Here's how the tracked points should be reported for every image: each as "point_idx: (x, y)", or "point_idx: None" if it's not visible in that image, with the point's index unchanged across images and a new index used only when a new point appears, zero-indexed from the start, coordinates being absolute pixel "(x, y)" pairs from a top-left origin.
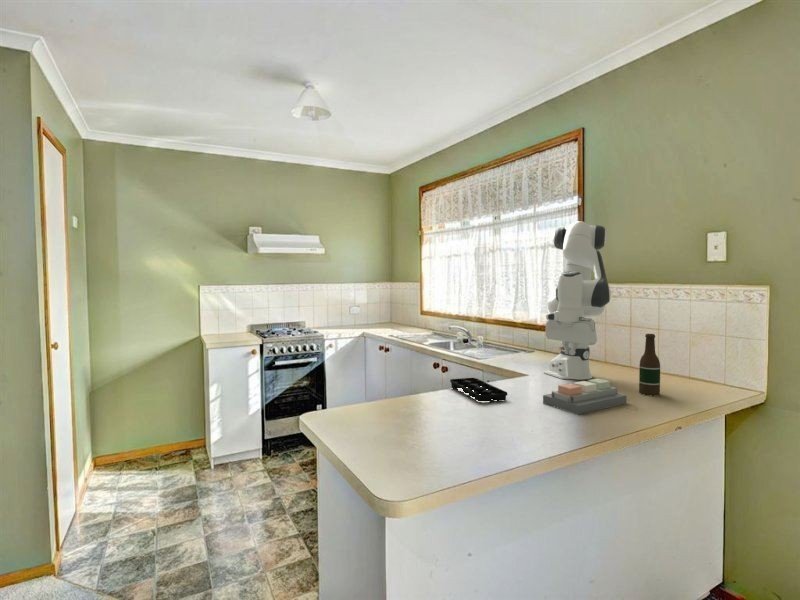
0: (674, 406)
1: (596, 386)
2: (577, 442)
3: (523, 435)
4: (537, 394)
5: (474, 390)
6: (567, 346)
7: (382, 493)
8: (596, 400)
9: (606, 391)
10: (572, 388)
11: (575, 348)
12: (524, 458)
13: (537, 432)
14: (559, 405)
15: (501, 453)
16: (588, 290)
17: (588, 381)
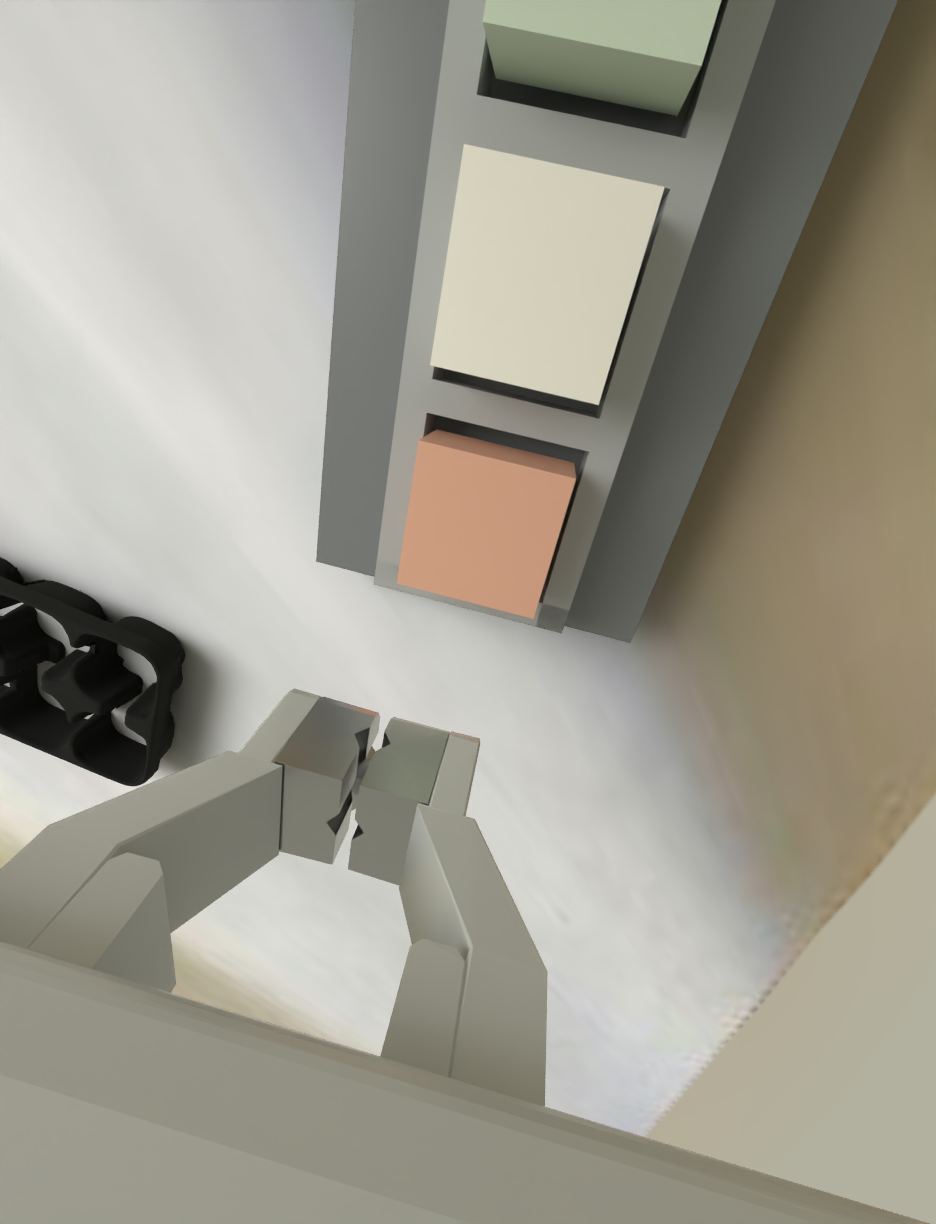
0: None
1: (623, 80)
2: (764, 936)
3: (564, 958)
4: (156, 352)
5: (2, 683)
6: (210, 837)
7: None
8: (699, 408)
9: (749, 72)
10: (539, 595)
11: (486, 884)
12: (664, 1071)
13: (588, 920)
14: None
15: (594, 1067)
16: None
17: (495, 35)
